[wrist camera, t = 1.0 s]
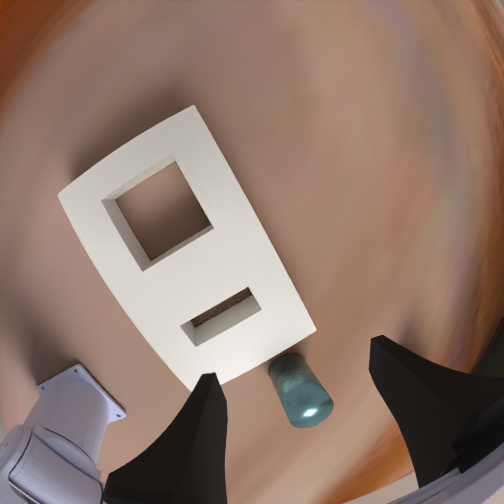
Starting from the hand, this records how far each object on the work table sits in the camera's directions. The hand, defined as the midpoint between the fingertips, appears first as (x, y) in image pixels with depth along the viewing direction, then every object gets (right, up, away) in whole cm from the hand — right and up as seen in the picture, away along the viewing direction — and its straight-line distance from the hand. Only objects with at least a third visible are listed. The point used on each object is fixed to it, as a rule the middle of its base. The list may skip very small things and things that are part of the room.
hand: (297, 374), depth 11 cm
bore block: (-7, +5, +11) cm, 14 cm away
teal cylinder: (+2, -7, +15) cm, 17 cm away
